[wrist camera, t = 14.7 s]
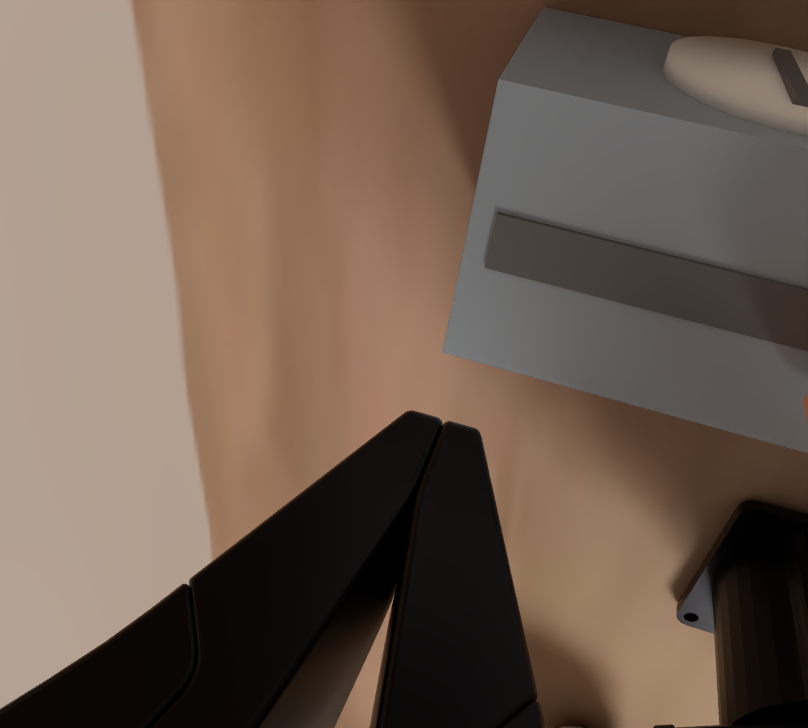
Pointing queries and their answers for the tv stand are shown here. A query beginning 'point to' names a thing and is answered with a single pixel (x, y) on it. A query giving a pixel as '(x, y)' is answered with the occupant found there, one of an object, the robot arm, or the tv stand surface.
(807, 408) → the block
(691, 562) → the tv stand surface
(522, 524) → the tv stand surface
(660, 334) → the box
